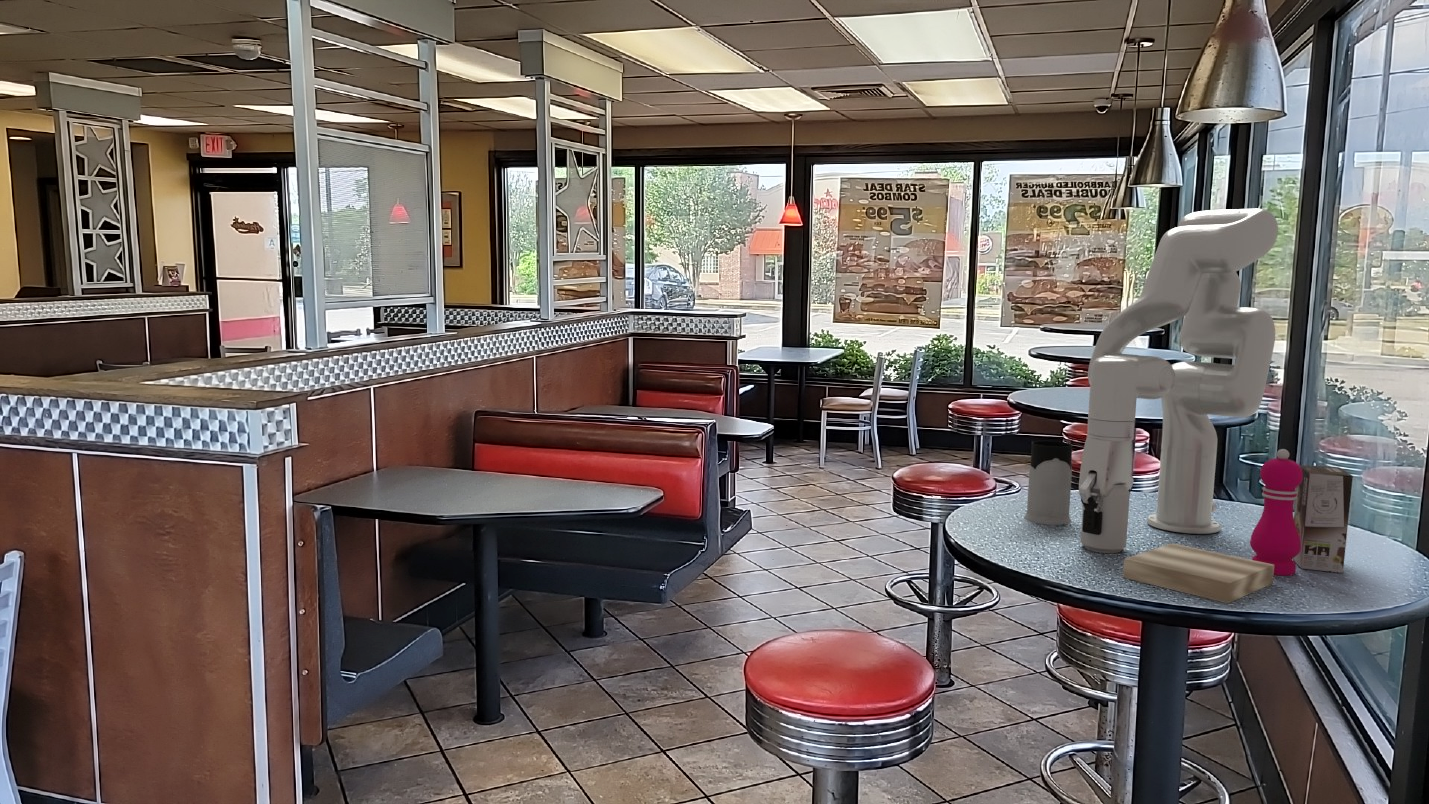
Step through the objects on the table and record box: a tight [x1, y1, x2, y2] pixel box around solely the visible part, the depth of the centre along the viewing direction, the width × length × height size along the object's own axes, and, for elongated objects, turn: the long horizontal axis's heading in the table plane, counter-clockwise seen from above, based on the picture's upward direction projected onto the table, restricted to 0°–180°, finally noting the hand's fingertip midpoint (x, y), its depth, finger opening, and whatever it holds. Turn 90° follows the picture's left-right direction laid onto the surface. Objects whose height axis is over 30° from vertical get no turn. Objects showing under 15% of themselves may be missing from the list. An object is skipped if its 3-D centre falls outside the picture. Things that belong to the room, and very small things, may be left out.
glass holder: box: [1024, 440, 1073, 526], centre depth 199 cm, size 9×14×15 cm, turn 174°
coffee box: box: [1292, 464, 1354, 574], centre depth 167 cm, size 9×6×16 cm
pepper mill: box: [1249, 448, 1303, 577], centre depth 163 cm, size 7×7×20 cm
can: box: [1080, 483, 1131, 554], centre depth 175 cm, size 8×8×12 cm
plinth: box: [1122, 542, 1275, 604], centre depth 157 cm, size 16×16×3 cm
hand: (1104, 529), depth 175 cm, fingers closed on can, 7 cm apart
